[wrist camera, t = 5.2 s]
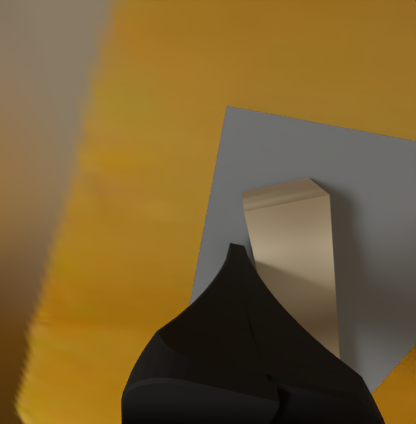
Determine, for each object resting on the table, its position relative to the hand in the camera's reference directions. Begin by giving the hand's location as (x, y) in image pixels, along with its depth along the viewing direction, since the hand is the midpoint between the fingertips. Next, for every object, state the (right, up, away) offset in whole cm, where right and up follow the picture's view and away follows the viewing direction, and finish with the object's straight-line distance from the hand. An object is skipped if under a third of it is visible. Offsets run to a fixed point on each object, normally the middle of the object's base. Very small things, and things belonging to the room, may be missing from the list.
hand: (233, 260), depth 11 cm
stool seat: (+5, -2, +3) cm, 6 cm away
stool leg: (+4, -3, +2) cm, 6 cm away
